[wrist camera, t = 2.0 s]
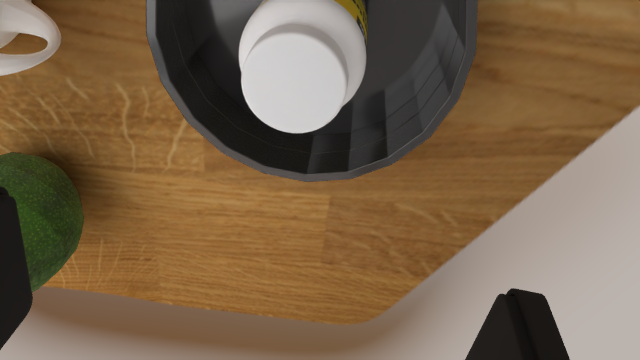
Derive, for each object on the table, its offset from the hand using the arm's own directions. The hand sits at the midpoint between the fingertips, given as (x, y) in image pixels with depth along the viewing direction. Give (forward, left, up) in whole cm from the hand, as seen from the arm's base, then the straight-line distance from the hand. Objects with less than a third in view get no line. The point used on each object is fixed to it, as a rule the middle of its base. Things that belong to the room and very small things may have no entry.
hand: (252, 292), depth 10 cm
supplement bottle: (-1, 0, -21) cm, 21 cm away
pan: (-1, 0, -21) cm, 21 cm away
